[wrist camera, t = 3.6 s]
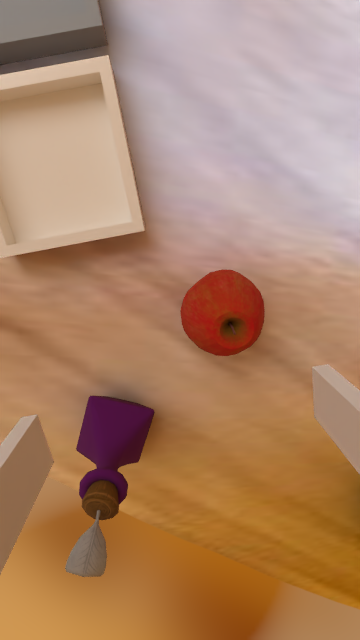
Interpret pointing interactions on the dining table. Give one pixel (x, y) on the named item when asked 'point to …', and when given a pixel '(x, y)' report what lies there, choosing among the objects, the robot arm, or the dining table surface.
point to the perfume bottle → (106, 471)
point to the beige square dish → (64, 158)
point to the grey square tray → (48, 28)
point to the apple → (223, 313)
